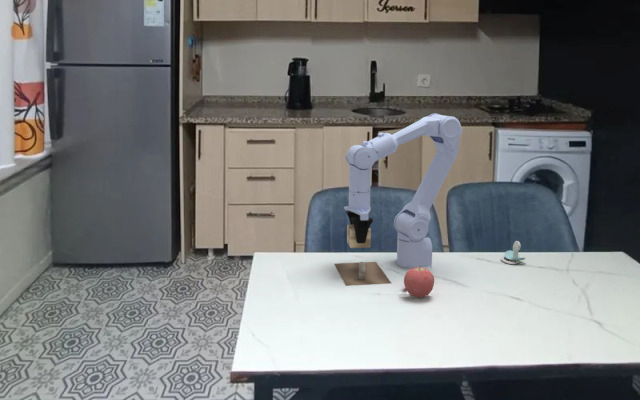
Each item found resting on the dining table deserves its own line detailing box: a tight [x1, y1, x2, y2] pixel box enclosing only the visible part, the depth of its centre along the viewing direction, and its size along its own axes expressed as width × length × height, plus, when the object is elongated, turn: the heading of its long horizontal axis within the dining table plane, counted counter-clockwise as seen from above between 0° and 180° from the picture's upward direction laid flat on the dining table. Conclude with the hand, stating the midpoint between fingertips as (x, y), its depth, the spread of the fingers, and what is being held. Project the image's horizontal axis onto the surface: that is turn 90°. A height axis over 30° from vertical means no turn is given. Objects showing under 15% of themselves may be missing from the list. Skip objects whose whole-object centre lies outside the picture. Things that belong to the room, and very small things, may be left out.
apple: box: [403, 266, 435, 299], centre depth 168 cm, size 7×7×8 cm
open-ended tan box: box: [346, 224, 372, 249], centre depth 182 cm, size 5×5×5 cm
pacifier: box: [500, 240, 526, 265], centre depth 195 cm, size 7×6×6 cm
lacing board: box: [333, 261, 392, 287], centre depth 181 cm, size 12×18×6 cm, turn 8°
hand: (358, 239), depth 182 cm, fingers closed on open-ended tan box, 5 cm apart
